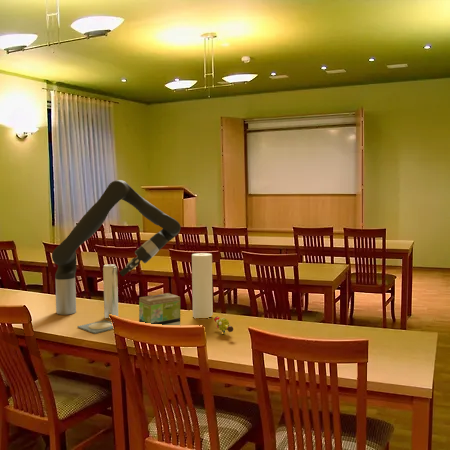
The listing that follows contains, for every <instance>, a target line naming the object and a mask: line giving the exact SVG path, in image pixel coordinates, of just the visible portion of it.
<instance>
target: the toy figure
mask: <svg viewBox="0 0 450 450" xmlns="http://www.w3.org/2000/svg"><path fill="white" fill-rule="evenodd" d="M213 321H214V322H215V323H216V329H218V330H220V331H221V333H222V332H223V334H225V335H226V331H227V332H229V333H232V332H234V327H233V326H231V325H230V324H231V323H230V321H229V320H228V318H226V317H219V316H215V317H214V320H213Z"/></svg>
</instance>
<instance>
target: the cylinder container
mask: <svg viewBox="0 0 450 450" xmlns="http://www.w3.org/2000/svg"><path fill="white" fill-rule="evenodd" d="M191 281H192V282H191V285H192V286H191V287H192V294H191V295H192V318H193V317H194V319H196V318H208V317H211V316H212V315H214V314H213V313H214V311H213V307H214V306H213V304H214V303H213V254H212V253H209V252H208V253H207V252H200V253H199V252H196V253H192V254H191ZM208 319H209V318H208Z"/></svg>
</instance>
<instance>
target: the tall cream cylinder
mask: <svg viewBox="0 0 450 450" xmlns="http://www.w3.org/2000/svg"><path fill="white" fill-rule="evenodd" d="M102 271H103V272H102V276H103V277H102V278H103V307H104V313H103V314H104V317H105V318H104V319H106V318H109V314H112V315H116V316H118V317H119V296H118V295H119V292H118V291H119V290H118V289H119V288H118V284H119V283H118V266H116V264H112V263H111V264H104V265H103V268H102ZM108 320H111V319H110V318H109V319H108Z"/></svg>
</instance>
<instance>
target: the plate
mask: <svg viewBox="0 0 450 450" xmlns="http://www.w3.org/2000/svg"><path fill="white" fill-rule="evenodd" d="M111 322H112V321H109V320H108V319H106V320H105V319H103V320H99V321H95V322H91V323H86V324H82V325H78V326H77V329H80V330H83V331H86V332H89V333H92V334H94V335H95V334H100V333H104V332H108V330H109V331H111V329H113V326H112V323H111ZM113 330H114V329H113Z"/></svg>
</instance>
